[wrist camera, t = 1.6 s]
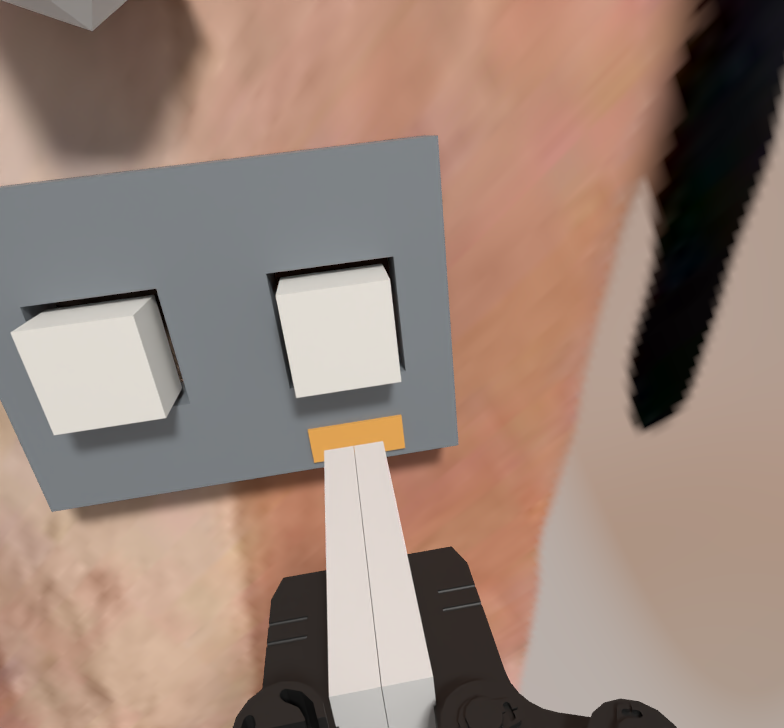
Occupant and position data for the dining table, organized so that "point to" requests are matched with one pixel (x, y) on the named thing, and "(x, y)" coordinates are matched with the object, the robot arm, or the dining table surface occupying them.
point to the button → (99, 364)
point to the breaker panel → (231, 310)
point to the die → (73, 10)
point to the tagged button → (339, 329)
